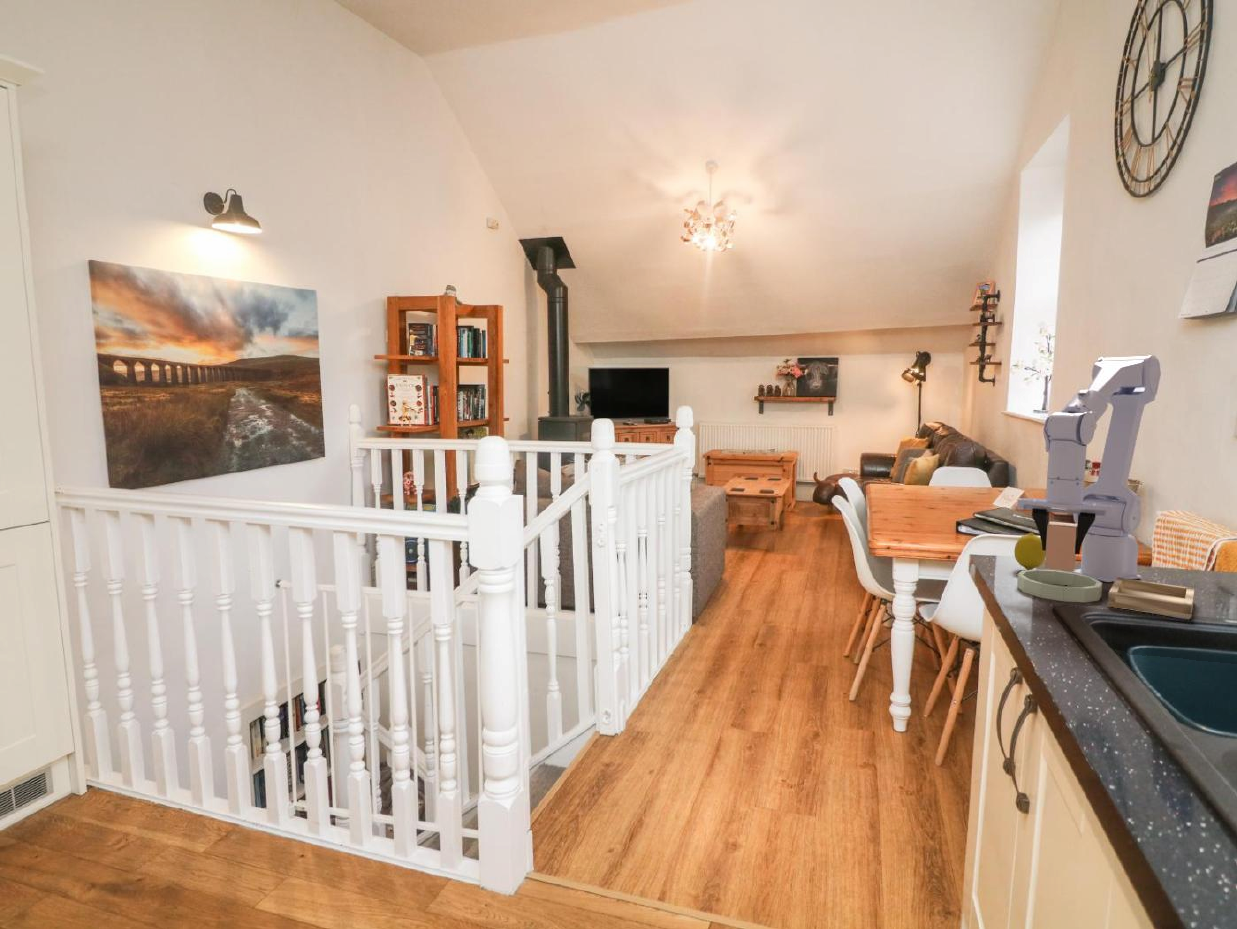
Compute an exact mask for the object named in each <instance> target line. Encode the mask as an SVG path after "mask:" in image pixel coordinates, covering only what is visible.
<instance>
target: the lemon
mask: <svg viewBox="0 0 1237 929" xmlns="http://www.w3.org/2000/svg"><path fill="white" fill-rule="evenodd" d="M1014 557H1015V560H1016V562H1017V563H1018V565H1020V566H1021V567H1023V568H1024V569H1025V570H1034V569H1037V568H1039V567H1040V566H1042V565H1043V563H1045V557H1046V551H1043V550H1042V542H1041V538H1040V537H1039V536H1037V535H1036V534H1034V533H1033V532H1029V533H1027V534H1025V535H1022V536H1021V537H1019V538H1018V540H1017V541H1016V543H1015V546H1014Z"/></svg>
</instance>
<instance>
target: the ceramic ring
mask: <svg viewBox="0 0 1237 929" xmlns="http://www.w3.org/2000/svg"><path fill="white" fill-rule="evenodd" d="M1065 585H1067V586H1065ZM1016 588H1018V589H1019V590H1020V591H1021V592H1023V593H1025V594H1028V595H1031V596H1033V597H1034V596H1035V597H1037V598H1040V599H1047V600H1052V601H1060V602H1068V603H1069V602H1070V603H1071V602H1072V603H1090V602H1097V601H1100V600H1101V598H1102V592H1103V581H1101V580H1097V579H1095V578H1092V577H1088V576H1085V575H1081V574H1077V573H1071V572H1070V571H1065V570H1057V569H1037V568H1034V569H1032V570H1026V569H1025V570H1021V571H1020V572H1019V573H1017V581H1016Z"/></svg>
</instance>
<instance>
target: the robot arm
mask: <svg viewBox="0 0 1237 929" xmlns="http://www.w3.org/2000/svg"><path fill="white" fill-rule="evenodd" d="M1161 373H1162V372H1161V363H1160V360H1159V359H1158V358H1157V356H1156V355H1154V354H1151V355H1150V354H1149V355H1147V356H1146V355H1145V356H1144V355H1143V356H1119V357H1105V356H1101V357H1099V358H1098V359H1097V360H1096V361H1095V362H1094V364H1093V366H1092V370H1091V376H1092V377H1091V378H1092V381H1091V383H1090V384H1089V386H1088V387H1087V389H1080V390H1079V391H1077V393H1076V394H1074V395H1073V397H1071V399H1070V401H1068V403H1067V404H1066V405H1065V406H1064V407H1063V409H1062V410H1061V411H1060V412H1054V413H1052V414H1050V415H1048V416H1047V418H1046V420H1045V422H1044V425H1043V431H1042V432H1043V437H1044V441H1045V452H1046V453H1048V459H1047V473H1046V477H1047V478H1046V491H1045V498H1023V497H1022V498H1021V497H1019V498H1018V499H1017V510H1019V511H1020V510H1021V511H1024V510H1027V511H1028V510H1029V511H1032V512H1031V516H1032V519H1033V521H1034V524H1035V526H1036V527H1037V530H1038V534H1039V536H1040V537H1039V538H1040V539H1041V542H1042V550H1043V551H1046V541H1047V525H1048V523H1049V522H1050V521H1049V520H1050V513H1051V512H1052V513H1061V514H1062V513H1064V514H1065V513H1066V514H1072V515H1073V521H1074V524H1078V528H1077V540H1076V546H1075V554H1076V555H1080V554H1081V556H1080V557H1081V558H1080V559H1081V560H1080V568H1078V569H1074V571H1069V572H1071V573H1077V574H1081V575H1085V576H1088V577H1092V578H1095V579H1096V580H1098V581H1100V582H1106V583H1112V582H1113V583H1114V582H1115V581H1116V579H1117V577H1118V578H1125V579H1132V580H1138V579H1141V577H1142V576H1141V575H1139V574H1137V573H1138V572H1137V571H1138V560H1139V558H1138V557H1139V544H1138V540H1137V539H1136V537H1134V535H1132V534H1133V533H1134V532H1136V531H1137V529H1138V527H1139V526H1140V523H1141V522H1140V521H1141V504H1142V501H1141V498H1140V496H1139V494H1137V493H1136V492H1135V491H1134V490H1132V489H1131V488H1130V487H1129V486H1128V482H1129V477H1130V473H1131V466H1132V462H1133V458H1134V455H1135V454H1134V453H1135V450H1136V449H1135V448H1136V445H1137V444H1136V443H1137V439H1138V436H1139V430H1140V425H1141V422H1142V416H1143V413H1144V410H1145V406H1146V405H1148V404H1150V403H1151V402H1154V401H1155V400H1156V396H1157V393H1158V389H1159V385H1160V380H1161ZM1109 404H1110V405H1112V412H1111V416H1110V422H1109V426H1108V429H1107V431H1108V432H1107V436H1106V440H1105V444H1104V448H1103V453H1102V458H1101V461H1100V462H1101V463H1100V468H1099V471H1098V476H1097V480H1096V481H1095V482H1094V483H1091V484H1090V485H1088V486H1086V487H1085V477H1086V476H1085V475H1086V463H1087V462H1086V461H1087V460H1086V459H1087V445H1089V444H1091V442H1092V441H1093V439H1094V435H1095V431H1096V429H1097V426H1098V425H1097V422H1098V421H1099V420H1100V418H1102V416H1103V415H1104V414H1105V412H1106V411H1107V410H1108V407H1109V406H1108V405H1109Z"/></svg>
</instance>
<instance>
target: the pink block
mask: <svg viewBox="0 0 1237 929" xmlns="http://www.w3.org/2000/svg"><path fill="white" fill-rule="evenodd" d="M1077 528H1078V524H1076V523H1072V522H1071V523H1070V522H1061V521H1060V522H1059V521H1058V522H1057V521H1049V522H1048V525H1047V541H1046V556H1045V560H1044V569H1049V570H1057V571H1064V572H1070V571H1074V570H1075V567H1076V555H1077V554H1075V546H1076V540H1077Z"/></svg>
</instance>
